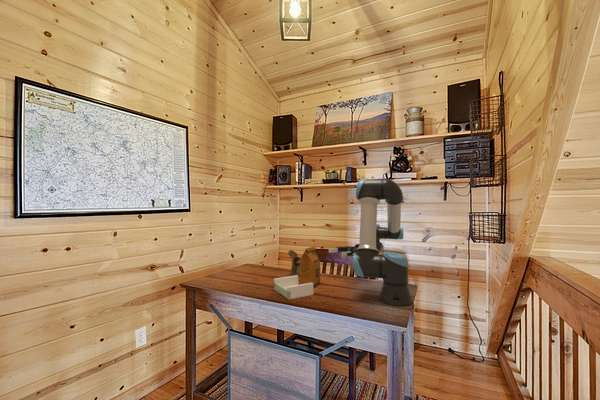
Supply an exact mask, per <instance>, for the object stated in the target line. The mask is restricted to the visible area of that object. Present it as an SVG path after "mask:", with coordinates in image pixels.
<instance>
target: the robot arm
mask: <svg viewBox="0 0 600 400" xmlns="http://www.w3.org/2000/svg"><path fill="white" fill-rule="evenodd" d="M355 200H357V201H358V204H360V218H359V219H360V223H359V239H358V241H359V243H355V245H354V246H335V247H333V248H332V247H331V248H328V254H331V253H339V252H341V258H347V257H352V266H353V272H354V275H356V276H357V277H360V278H361V277H362V278H374V279H383V281H382V287H381V290H380V292H379V300H380V302H382V303H383V304H385V305H390V306H395V307H397V306H398V307H405V306H410V305H411V304H412V303H413V297H412V295H411V292H410V288H409V260H408V257H407V256H406V255H405V254H402V253H399V252H393V251H384V244H383V242H381V239H383V240H397V241H398V240H403V239H404V228H403V227H401V220H402V219H401V218H402V216H401V215H402V214H401V213H402V202H403V200H404V194H403V191H402V188H401V187H400V185H398V183H397V182H395V181H394V180H392V179H389V178H363V179H359V180H358V181H357V185H356V189H355ZM381 200H383V201H384V200H385V203H387V204H386V207H387V208H386V209H387V214H386V215H387V226H385V227H383V226H381V225H380V224H378V223H377V220H378V219H377V218H378V216H377V213H378V210H377V209H378V205H380V204H381ZM382 252H383V253H382ZM380 253H382V254H380Z"/></svg>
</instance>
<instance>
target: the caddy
mask: <svg viewBox="0 0 600 400" xmlns="http://www.w3.org/2000/svg"><path fill="white" fill-rule="evenodd" d="M273 290H274V291H275V292H276V293H278V294H279V295H281V296H283V297H284V298H285V299H286V300H287V301H288V300H294V299H298V298H304V297H308V296H314V285H313V283H307V284H301V285H300V284H299V277H298V275H295V276H291V275H288V276H281V277H278V278H277V277H276V278H273Z"/></svg>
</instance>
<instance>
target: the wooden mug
mask: <svg viewBox="0 0 600 400" xmlns="http://www.w3.org/2000/svg"><path fill="white" fill-rule="evenodd" d="M287 253H288V254H287V255H289V257H290V258H291V269H290V273H289V274H290V275H289V276H295V275H298V278H300V263H301V257H300V256H299V257H298V253H297V252H296V251H294V250H293V249H290V250H289V251H288V252H287Z"/></svg>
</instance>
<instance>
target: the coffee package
mask: <svg viewBox="0 0 600 400" xmlns="http://www.w3.org/2000/svg"><path fill="white" fill-rule="evenodd" d="M316 249H317V246H316V245H314V246H310V247H307V248H305V249H304V251H303V253H302V254H301V257H300V258H301V263H300V276H299V278H300V279H299V281H300V284H299V285H301V284H307V283H313V286H316V285H318V284H319V283H321V262H320V259H319V257H318V254H317V253H316V251H315V250H316Z"/></svg>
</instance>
